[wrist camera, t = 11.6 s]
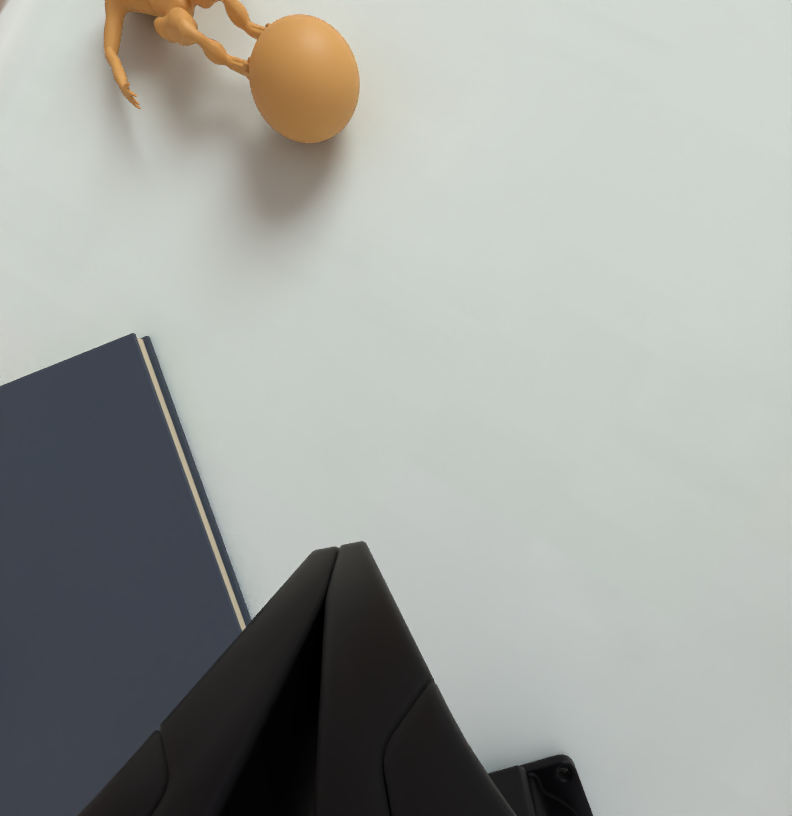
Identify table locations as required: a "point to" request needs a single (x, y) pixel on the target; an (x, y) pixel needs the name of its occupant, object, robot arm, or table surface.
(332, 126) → the figurine
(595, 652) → the table surface
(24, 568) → the notebook
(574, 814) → the robot arm
